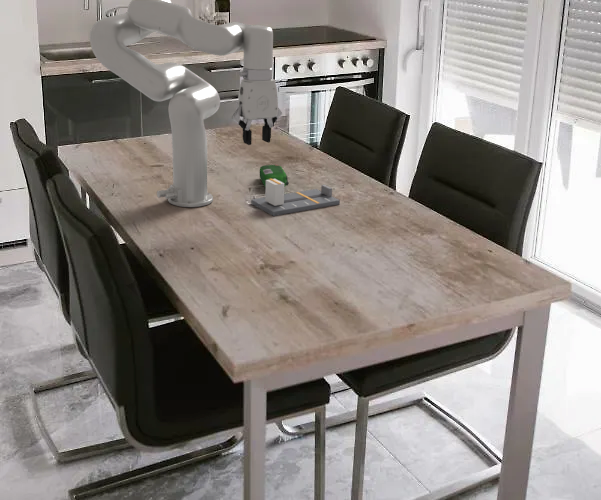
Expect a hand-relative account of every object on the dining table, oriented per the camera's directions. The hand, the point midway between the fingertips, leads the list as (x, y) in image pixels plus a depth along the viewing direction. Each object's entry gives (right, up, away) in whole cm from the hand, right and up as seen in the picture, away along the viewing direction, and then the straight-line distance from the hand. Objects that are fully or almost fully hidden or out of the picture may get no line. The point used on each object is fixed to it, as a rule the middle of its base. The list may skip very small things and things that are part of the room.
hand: (256, 141), depth 240 cm
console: (+10, -16, +14) cm, 23 cm away
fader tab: (+4, -16, +10) cm, 19 cm away
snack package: (+3, -10, +30) cm, 32 cm away
